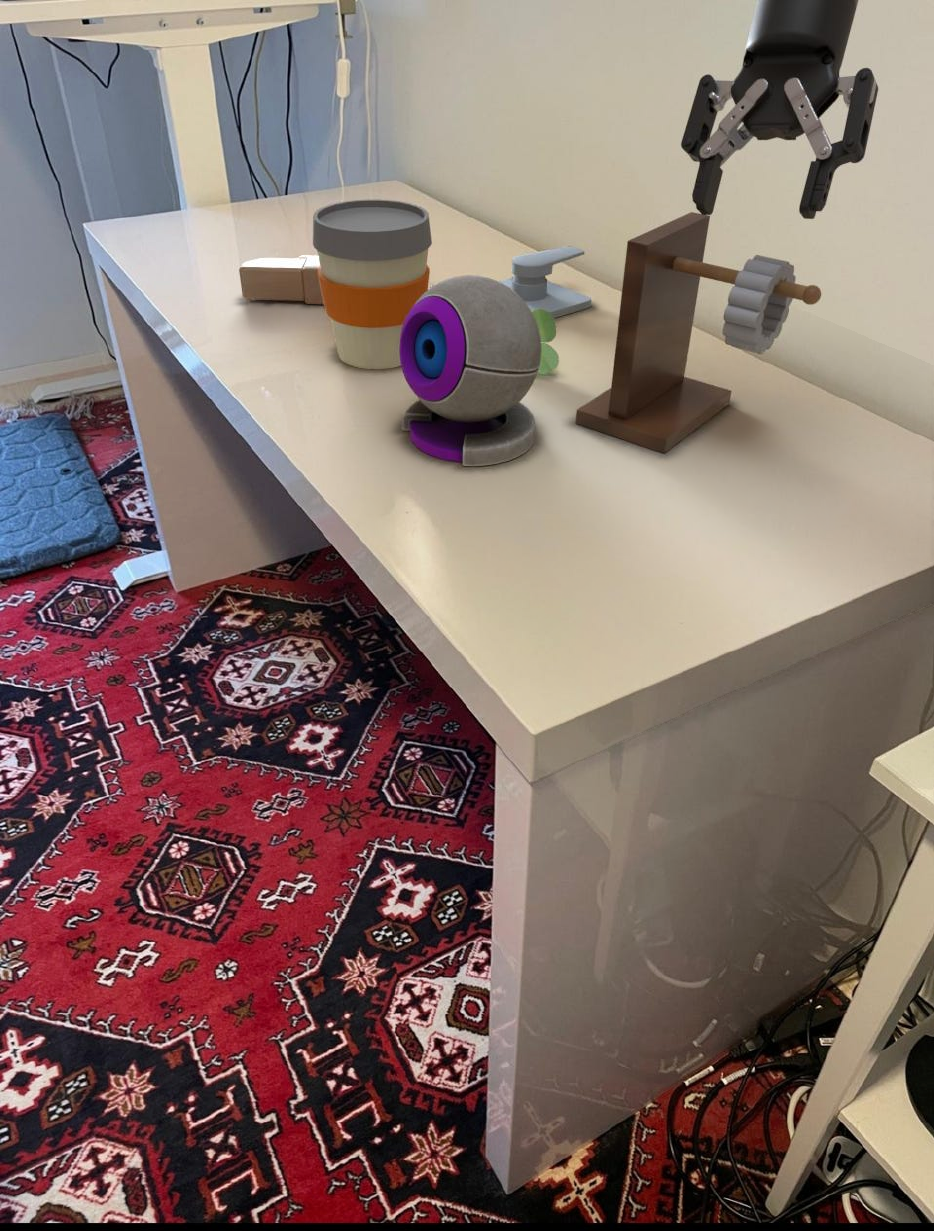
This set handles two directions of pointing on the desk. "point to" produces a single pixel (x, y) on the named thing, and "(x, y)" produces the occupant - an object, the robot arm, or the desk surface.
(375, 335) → the reusable coffee cup
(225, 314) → the desk surface
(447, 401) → the webcam
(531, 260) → the shower valve
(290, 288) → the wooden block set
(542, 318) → the seedling
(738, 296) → the grey scalloped ring
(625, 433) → the rack
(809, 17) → the robot arm
